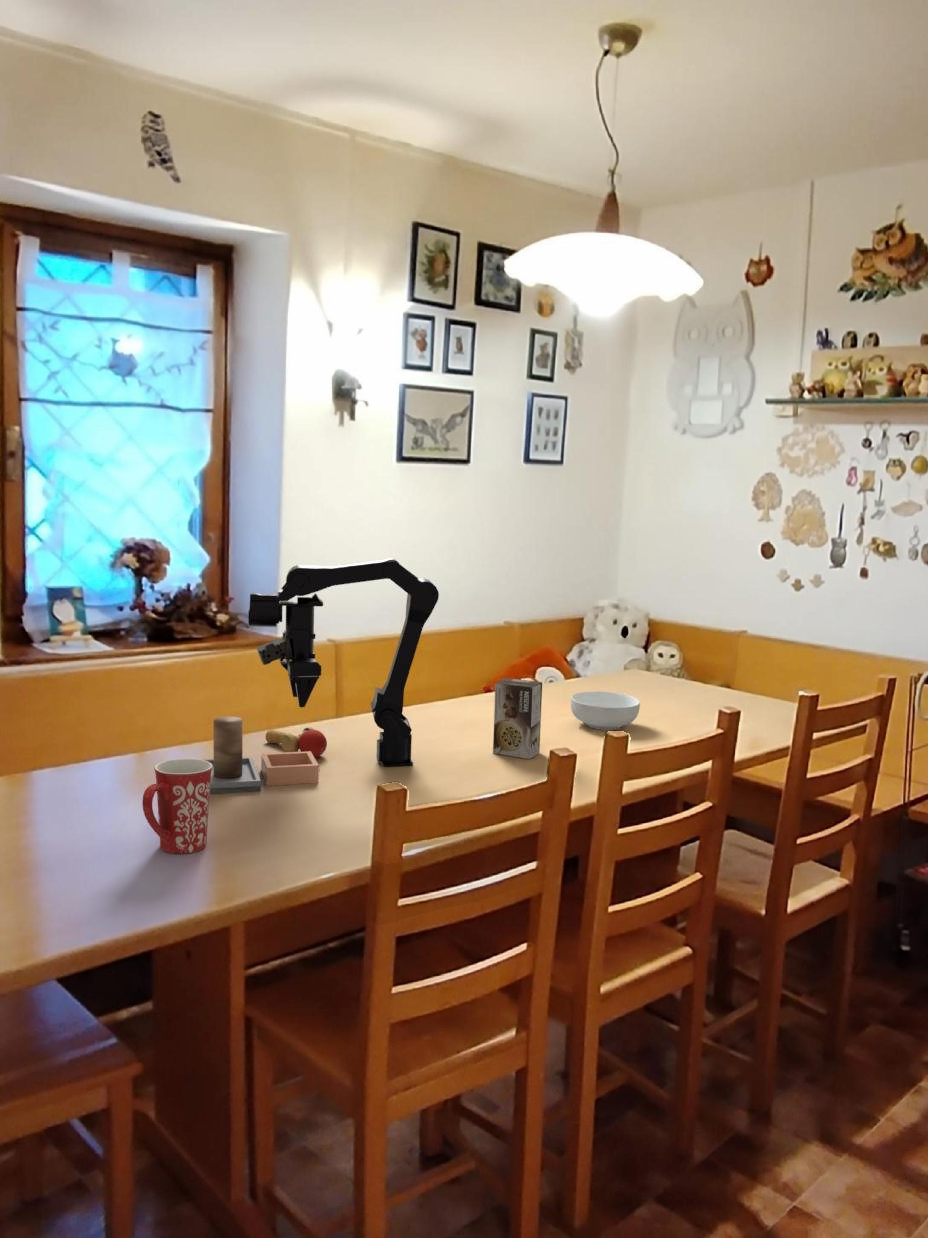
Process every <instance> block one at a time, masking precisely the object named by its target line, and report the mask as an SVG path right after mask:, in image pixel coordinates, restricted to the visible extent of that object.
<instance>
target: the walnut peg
mask: <svg viewBox="0 0 928 1238" xmlns="http://www.w3.org/2000/svg"><path fill="white" fill-rule="evenodd" d="M243 726H244V725H243V718H241V717H238V716H220V717H219V716H218V717H215V718H214V719H213V759H214V777H216V778H220V779H234V778H238V777H240V776H242V758H243V736H244V735H243V731H244V729H243Z"/></svg>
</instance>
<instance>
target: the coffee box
mask: <svg viewBox="0 0 928 1238" xmlns="http://www.w3.org/2000/svg"><path fill="white" fill-rule="evenodd" d="M542 695H543V681H535V680H529V679H528V680H527V679H526V680H525V679H520V678H512V677H511V678H509V677H504V678H502V679H500V680H499V681H497V682H495V683H494V710H493V711H494V712H493V713H494V715H493V743H492V744H493V745H492V754H495V755H502V756H508V757H515V758H522V759H529V760H530V759H532V758H534V757H536V756H537V755H539V754H540V752H541V751H540V747H541V746H540V745H541V744H540V743H541V728H542V727H541V721H542V700H543V697H542Z"/></svg>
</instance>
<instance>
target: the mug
mask: <svg viewBox="0 0 928 1238" xmlns="http://www.w3.org/2000/svg"><path fill="white" fill-rule="evenodd" d="M212 767H213V766H212V764H211V763H210V762H208V761H205V760H201V759H199V758H190V757H189V758H186V757H185V758H183V757H182V758H174V759H173V758H172V759H167V760H163V761H161V762H158V763H156V764H155V765H154V766H153V769H154V772H155V783H152V784H150V785H148V786H147V787H146V789H145V790H144V792H143V795H142V810H143V814H144V815H143V816H144V817H145V819H146V821H147V823H148V824H149V826H150V828H151V829H152V830H153V832H154V833H155V834H156V835H157V836H158V837H159V847H160V849H161V850H162V851H163V852H167V853H169V854H170V853H171V854H175V853H177V854H176V855H178V853H179V854H180V853H181V854H182V855H183V853H184V854H192V853H196V852H198V851H201V850H203V849H205V848H206V846H207V841H208V824H209V813H210V811H209V809H210V796H211V795H210V781H211V770H212ZM155 794H156V799H157V800H156V801H157V802H156V803H157V812H158V813H157V816H158V819H157V818H156V816H155V813H154V809H153V802H154V801H153V800H154V796H155ZM181 854H180V855H181Z"/></svg>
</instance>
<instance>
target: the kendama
mask: <svg viewBox="0 0 928 1238" xmlns="http://www.w3.org/2000/svg"><path fill="white" fill-rule="evenodd" d="M265 741H266V742H267V743H268V744H280V745H281V748H282V750H283V753H286V752H307V751H311V752H312V754H313V756H314V758H315V759H316V758H320V757H321V756H322V755H323V754H324V753H325V752H326V750H327V747H328V746H327V745H328V741H327V738H326V736H325V734H324V733H323V732H321V731H320V730H317V729H314V728H313V727H311V726H308V727H305V728H304V729H303V730H302V733H299V734H298V735H294V734H292V733H291V732H290V733H288V732H287V733H286V732H282V731H278V730H275V729H268V730H267V731H266V733H265Z"/></svg>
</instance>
